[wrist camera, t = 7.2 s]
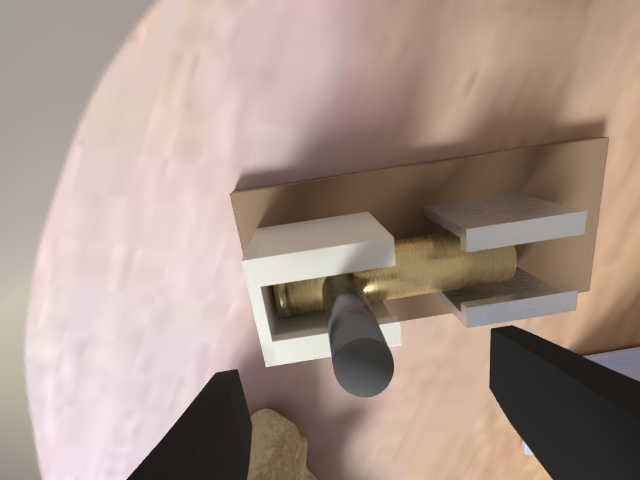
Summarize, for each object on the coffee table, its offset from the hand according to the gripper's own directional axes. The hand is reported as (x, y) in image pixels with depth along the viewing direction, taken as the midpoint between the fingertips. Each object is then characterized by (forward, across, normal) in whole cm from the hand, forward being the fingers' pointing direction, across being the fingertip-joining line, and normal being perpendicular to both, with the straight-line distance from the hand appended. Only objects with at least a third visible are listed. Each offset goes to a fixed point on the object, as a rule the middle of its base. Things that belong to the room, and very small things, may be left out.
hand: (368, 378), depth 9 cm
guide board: (+10, -5, 0) cm, 11 cm away
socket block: (+10, +1, 0) cm, 10 cm away
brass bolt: (+8, -2, 0) cm, 9 cm away
